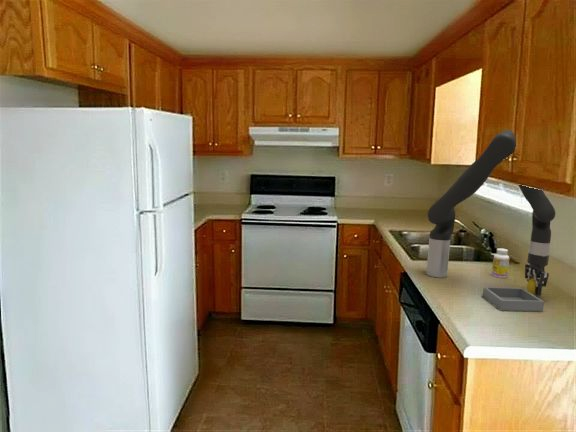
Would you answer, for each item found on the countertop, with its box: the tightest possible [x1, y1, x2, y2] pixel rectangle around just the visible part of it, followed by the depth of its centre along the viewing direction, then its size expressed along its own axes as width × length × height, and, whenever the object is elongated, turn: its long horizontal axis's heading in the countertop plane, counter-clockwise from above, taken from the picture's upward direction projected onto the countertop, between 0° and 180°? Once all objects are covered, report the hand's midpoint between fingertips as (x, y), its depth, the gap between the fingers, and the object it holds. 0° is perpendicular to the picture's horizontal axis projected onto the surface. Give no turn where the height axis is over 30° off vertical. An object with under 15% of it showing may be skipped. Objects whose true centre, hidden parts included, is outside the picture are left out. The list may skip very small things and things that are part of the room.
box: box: [481, 286, 545, 313], centre depth 188 cm, size 16×16×4 cm
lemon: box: [526, 278, 539, 296], centre depth 198 cm, size 6×6×8 cm
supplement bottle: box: [491, 247, 510, 279], centre depth 225 cm, size 7×7×13 cm
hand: (533, 292), depth 198 cm, fingers closed on lemon, 5 cm apart
